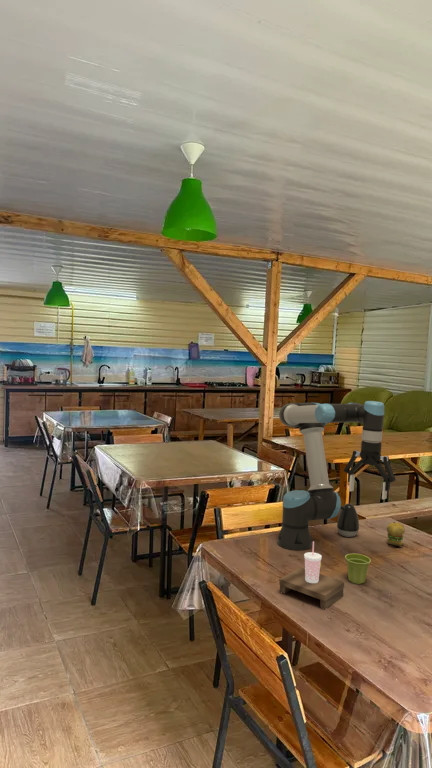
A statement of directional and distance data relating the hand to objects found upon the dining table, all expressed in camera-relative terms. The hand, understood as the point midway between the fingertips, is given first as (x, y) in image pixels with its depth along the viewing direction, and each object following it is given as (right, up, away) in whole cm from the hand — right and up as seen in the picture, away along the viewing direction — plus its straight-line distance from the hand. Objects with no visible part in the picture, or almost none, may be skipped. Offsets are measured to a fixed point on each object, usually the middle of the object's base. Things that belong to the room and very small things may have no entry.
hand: (367, 494), depth 201 cm
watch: (-21, -30, +1) cm, 37 cm away
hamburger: (+21, -30, +30) cm, 47 cm away
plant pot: (-6, -31, -7) cm, 33 cm away
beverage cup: (-25, -26, -20) cm, 41 cm away
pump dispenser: (+3, -29, +43) cm, 51 cm away
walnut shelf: (-26, -31, -20) cm, 45 cm away
